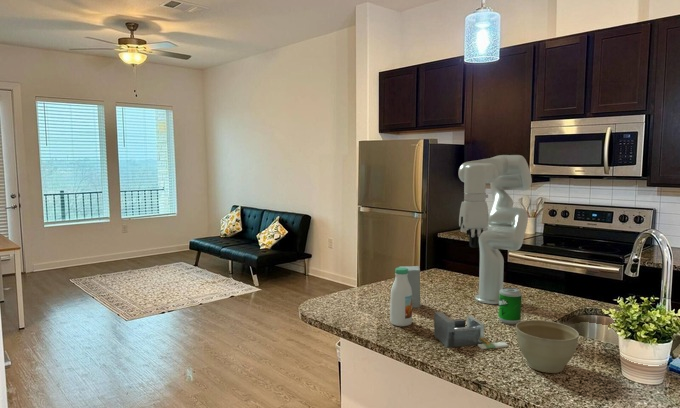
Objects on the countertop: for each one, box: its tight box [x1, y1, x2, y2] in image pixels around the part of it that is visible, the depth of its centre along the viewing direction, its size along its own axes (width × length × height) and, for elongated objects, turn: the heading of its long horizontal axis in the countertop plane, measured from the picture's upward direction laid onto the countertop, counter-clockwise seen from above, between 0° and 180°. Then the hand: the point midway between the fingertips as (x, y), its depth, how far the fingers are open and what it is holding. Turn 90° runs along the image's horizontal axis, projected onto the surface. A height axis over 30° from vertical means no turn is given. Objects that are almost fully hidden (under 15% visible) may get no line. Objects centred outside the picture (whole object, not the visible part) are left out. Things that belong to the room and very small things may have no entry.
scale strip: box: [477, 341, 509, 350], centre depth 144 cm, size 9×2×1 cm, turn 102°
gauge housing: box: [433, 311, 479, 348], centre depth 148 cm, size 10×10×8 cm
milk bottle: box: [389, 266, 413, 327], centre depth 164 cm, size 8×8×20 cm
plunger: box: [455, 314, 491, 345], centre depth 147 cm, size 9×13×6 cm
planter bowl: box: [515, 319, 580, 374], centre depth 129 cm, size 16×16×11 cm
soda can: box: [498, 286, 523, 325], centre depth 166 cm, size 8×8×12 cm
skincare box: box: [398, 265, 421, 309], centre depth 184 cm, size 8×7×16 cm
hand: (473, 247), depth 170 cm, fingers closed
